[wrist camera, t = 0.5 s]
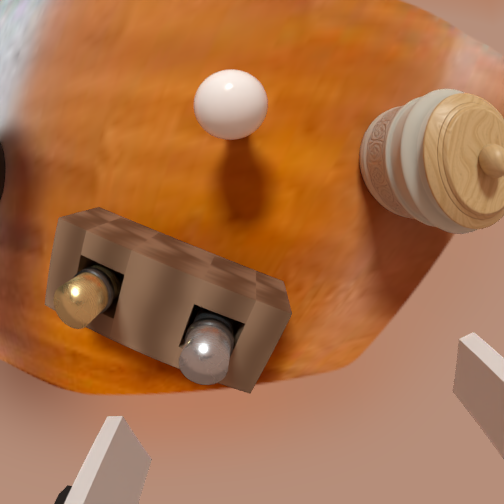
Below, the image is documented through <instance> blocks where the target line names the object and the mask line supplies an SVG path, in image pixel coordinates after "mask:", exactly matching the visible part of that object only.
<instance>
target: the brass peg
mask: <svg viewBox="0 0 504 504" xmlns="http://www.w3.org/2000/svg"><path fill="white" fill-rule="evenodd" d="M123 279H124V274H122V273H120V272H117V271H115V270H113V269H111V268H108V267H106V266H104V265H102V264H100V263H96V264H95V265H93V266H92V267H87V268H85V269H83V270H81V271H80V272H78V273H77V274H76V275H75V276H74V277H73V279H71V280H69V281H68V282H66V283H65V284H63V285H62V286H60V287H59V288H58V289H57V290H56V292H55V294H54V307H55V310H56V312H57V314H58V316H59V317H60V319H61V320H62V321H63V322H64V323H65V324H67V325H68V326H70V327H72V328H76V329H81V328H84V327H86V326H87V325H88V324H89V323H90V322H91V321H92V320H93V319H94V318H95V317H96V316H97V315H98V314H101V313H103V312H104V311H106V310H107V309H108V308H109V307H110V306H111V304H112V303H113V300H114V299H115V298H116V297H117V296H118V295H119V294H120V291H121V287H122V283H123Z"/></svg>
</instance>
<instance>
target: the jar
mask: <svg viewBox="0 0 504 504" xmlns="http://www.w3.org/2000/svg"><path fill="white" fill-rule="evenodd" d="M359 161H360V169H361V174H362V177H363V180H364V182H365V184H366V186H367V188H368V190H369V192H370V193H371V194H372V196H373V197H374V198H375V199H376V200H377V201H378V202H379V203H380V204H381V205H382V206H383V207H384V208H386V209H387V210H389V211H390V212H392V213H394V214H397V215H399V216H402V217H406V218H414V219H416V220H418V221H420V222H422V223H424V224H426V225H429V226H433V227H438V228H439V229H441V230H444V231H446V232H450V233H455V234H464V233H469V232H473V231H475V230H477V229H483V228H486V227H489V226H491V225H493V224H495V223H496V222H497V221H499V220H500V219H501V218H502V217H503V216H504V118H503V117H502V115H501V114H500V113H499V112H498V110H497V109H496V108H495V107H494V106H493V105H491V104H490V103H489V102H488V101H486V100H485V99H483V98H481V97H479V96H476V95H473V94H469V93H464V92H462V91H458V90H454V89H439V90H435V91H432V92H430V93H428V94H426V95H424V96H422V97H419V98H416V99H413V100H411V101H410V102H408V103H407V104H405V105H403V106H400V107H395V108H392V109H390V110H388V111H386V112H384V113H382V114H381V115H379V116H378V117H377V118H376V119H375V120H374V121H373V122H372V123H371V125H370V126H369V128H368V129H367V131H366V132H365V134H364V137H363V139H362V142H361V146H360V154H359Z"/></svg>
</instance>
